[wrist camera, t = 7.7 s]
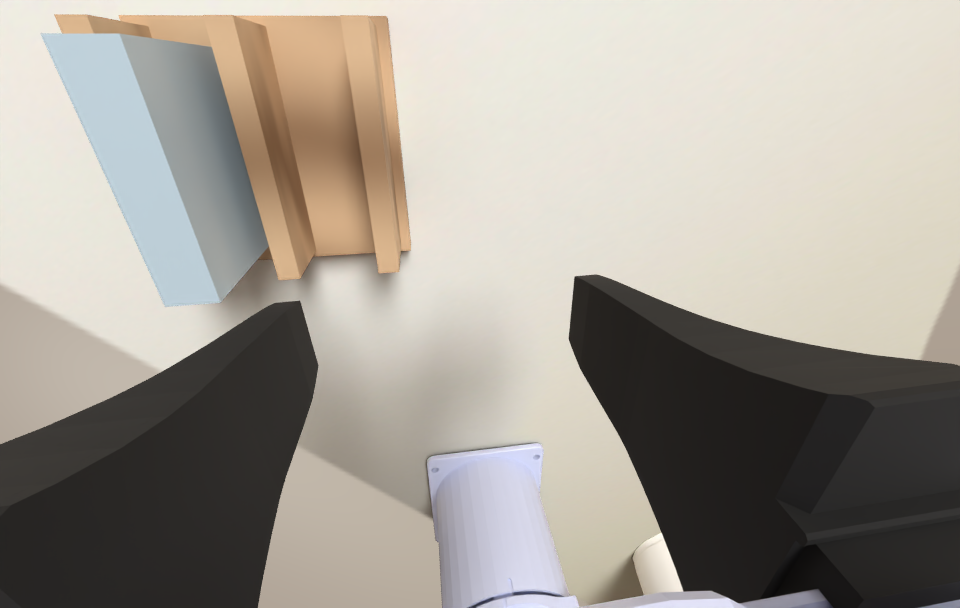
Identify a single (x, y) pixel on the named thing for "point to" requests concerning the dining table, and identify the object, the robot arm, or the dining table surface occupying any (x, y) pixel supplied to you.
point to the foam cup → (656, 567)
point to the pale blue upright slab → (167, 157)
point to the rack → (304, 126)
